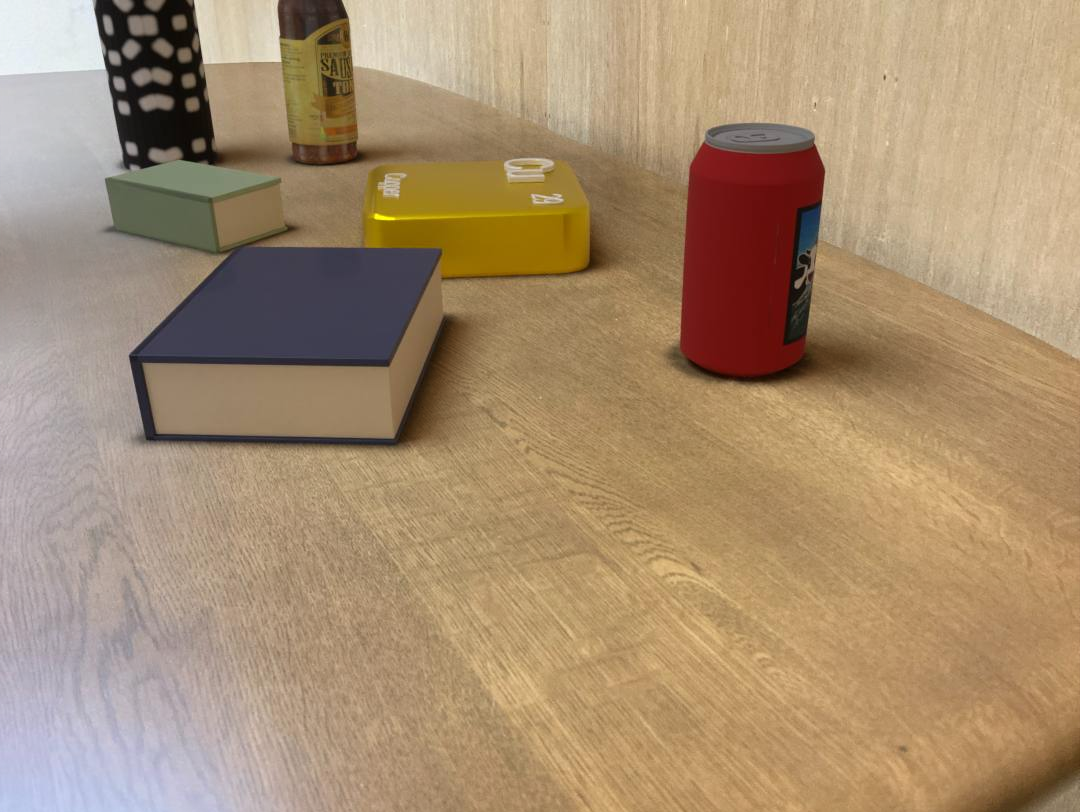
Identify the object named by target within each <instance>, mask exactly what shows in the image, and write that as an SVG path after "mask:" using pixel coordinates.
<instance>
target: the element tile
mask: <svg viewBox="0 0 1080 812" xmlns="http://www.w3.org/2000/svg"><path fill="white" fill-rule="evenodd" d="M364 193H365V194H364V198H363V200H364V201H363V205H362V210H361V221H362V231H363V232H362V233H363V245H364V248H441V249H442V256H441V258H440V266H441V279H454V278H456V279H457V278H481V277H482V278H483V277H507V276H509V277H511V276H532V275H533V276H535V275H537V276H538V275H555V274H556V275H559V274H562V275H563V274H570V273H576V272H580V271H582V270H585V269H586V268H587V267H588V266H589V264H590V257H591V256H590V254H591V251H590V250H591V204H590V202H589V200H588V198H587V196H586V194H585V191H584V189H583V188H582V186H581V184H580V182H579V180H578V178H577V175H576V174H575V172H574V169H573V168H572V166H571V165H569V164H568V163H566V162H565V161H564V160H563V159H562V160H561V159H555V158H552V159H551V158H541V157H521V158H515V159H514V158H513V159H509V160H508V159H507V160H506V159H505V160H476V161H444V162H415V163H414V162H412V163H411V162H410V163H386V164H379V165H377V166H376V167H374V168H373V169H371V170H370V171H369V172H368V174H367V180H366V186H365V192H364Z"/></svg>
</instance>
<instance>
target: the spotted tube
mask: <svg viewBox="0 0 1080 812" xmlns="http://www.w3.org/2000/svg"><path fill="white" fill-rule="evenodd" d="M91 1H92V6H93V12H94V16H95V23H96V27H97V31H98V32H97V33H98V37H99V42H100V47H101V53H102V57H103V63H104V68H105V74H106V78H107V84H108V89H109V94H110V99H111V106H112V110H113V115H114V119H115V120H114V121H115V126H116V130H117V136H118V141H119V145H120V146H119V147H120V151H121V157H122V162H123V166H124V168H125V169H127V170H129V171H131V172H132V171H136V170H140V169H144V168H148V167H153V166H157V165H161V164H165V163H169V162H173V161H177V160H182V161H188V162H194V163H200V164H205V165H211V166H212V165H214V164H215V163H217V162H218V160H219V157H218V150H217V144H216V143H217V142H216V137H215V131H214V124H213V118H212V111H211V104H210V97H209V91H208V85H207V77H206V71H205V70H206V69H205V65H204V59H203V58H204V57H203V50H202V44H201V38H200V32H199V31H200V30H199V25H198V24H199V23H198V18H197V12H196V4H195V0H91Z"/></svg>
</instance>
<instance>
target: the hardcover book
mask: <svg viewBox="0 0 1080 812" xmlns="http://www.w3.org/2000/svg"><path fill="white" fill-rule="evenodd" d="M104 182H105V187H106V192H107V198H108V203H109V205H110V206H109V207H110V213H111V217H112V223H113V226H114V231H116V232H121V233H125V234H130V235H134V236H138V237H143V238H147V239H150V240H151V239H152V240H155V241H159V242H165V243H168V244H174V245H178V246H183V247H187V248H191V249H195V250H200V251H203V252H209V253H213V254H219V253H222V252H226V251H228V250H231V249H235V248H237V247H239V246H244V245H246V244H249V243H252V242H255V241H259V240H260V239H264V238H268V237H270V236H273V235H276V234H279V233H282V232H285V231H288V227H287V226H286V222H285V216H284V207H283V200H282V199H283V198H282V192H281V184H282V183H283V182H282V177H279V176H275V175H268V174H261V173H257V172H250V171H245V170H239V169H233V168H228V167H223V166H218V165H217V166H216V165H212V164H211V165H205V164H200V163H194V162H188V161H182V160H177V161H173V162H169V163H165V164H161V165H157V166H153V167H148V168H144V169H140V170H136V171H132V170H131V171H128V172H124V173H120V174H115V175H113V176H108V177H105V178H104Z"/></svg>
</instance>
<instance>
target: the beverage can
mask: <svg viewBox="0 0 1080 812" xmlns="http://www.w3.org/2000/svg"><path fill="white" fill-rule="evenodd" d="M815 139H816V135H815V133H814V132H813V131H812V130H809V129H807V128H804V127H800V126H796V125H789V124H784V123H771V122H770V123H769V122H738V123H737V122H736V123H727V124H722V125H716V126H713V127H710V128H708V129H707V130H706V131H705V135H704V140H703V142H702V143H701V145H700V147H699V148H698V150H697V152H696V154H695V156H694V157H693V159H692V161H691V162H690V165H689V170H688V184H687V187H688V188H687V198H686V199H687V201H686V214H685V215H686V217H685V233H684V234H685V235H684V250H683V268H682V269H683V270H682V288H681V289H682V292H681V307H680V308H681V311H680V335H679V337H680V338H679V347H680V350H681V351H680V352H681V353H682V354H683V355H684V356H685V357H686V358H687V359H688V360H690V361H692V362H693V363H695V364H696V365H698V366H700V367H701V368H703V369H704V370H706V371H709V372H712V373H714V374H715V373H716V374H719V375H723V376H729V377H739V378H743V377H744V378H752V377H753V378H755V377H763V376H768V375H773V374H776V373H779V372H781V371H783V370H785V369H786V368H789V367H791V366H793V365H795V364H796V363H798V362H799V361H800V360H801V359H802V358H803V356H804V354H805V351H806V350H805V349H806V342H807V341H806V340H807V336H808V335H807V334H808V326H809V319H810V318H809V317H810V311H811V310H810V309H811V302H812V294H813V286H814V279H815V278H814V277H815V269H816V261H817V253H818V243H819V236H820V235H819V234H820V225H821V217H822V207H823V198H824V196H823V195H824V188H825V177H826V167H825V165H824V163H823V160H822V157H821V156H820V152H819V151H818V147H817V145H816V143H815Z"/></svg>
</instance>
